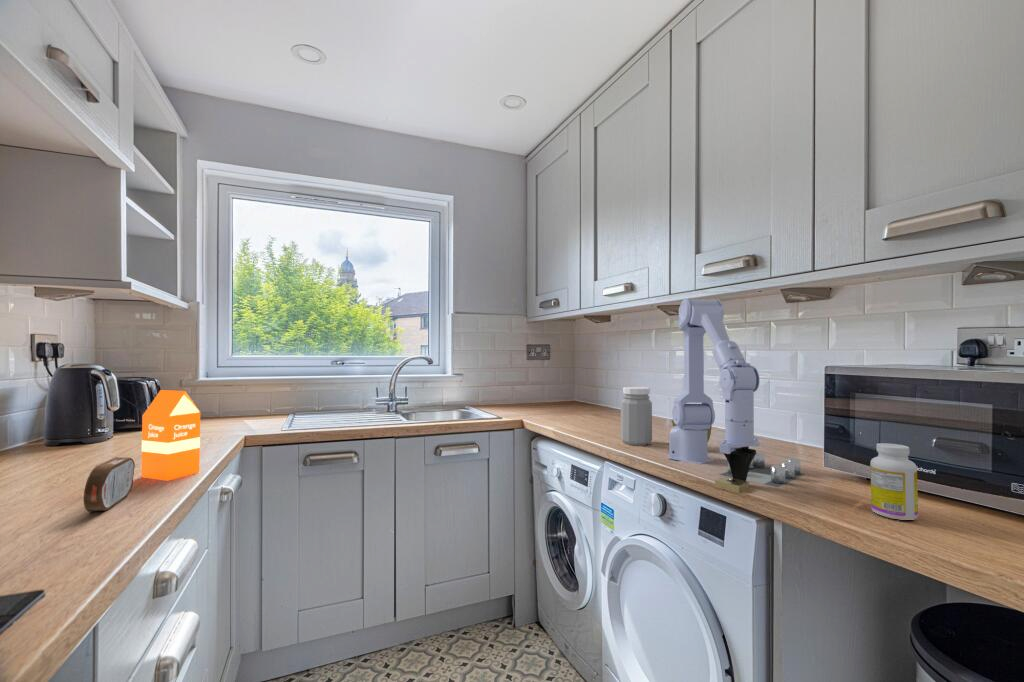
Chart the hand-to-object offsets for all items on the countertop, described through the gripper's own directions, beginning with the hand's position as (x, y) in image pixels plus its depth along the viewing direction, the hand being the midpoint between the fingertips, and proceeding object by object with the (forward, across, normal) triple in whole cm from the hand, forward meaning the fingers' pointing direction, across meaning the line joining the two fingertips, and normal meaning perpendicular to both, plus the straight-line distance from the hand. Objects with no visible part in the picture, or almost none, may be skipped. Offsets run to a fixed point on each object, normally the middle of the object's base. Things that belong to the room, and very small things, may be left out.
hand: (739, 481), depth 102 cm
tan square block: (+2, -3, 0) cm, 4 cm away
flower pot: (+1, +28, +27) cm, 39 cm away
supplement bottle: (+1, +4, -26) cm, 26 cm away
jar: (+1, +22, +43) cm, 48 cm away
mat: (+1, +13, 0) cm, 13 cm away
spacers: (+1, +14, 0) cm, 14 cm away
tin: (+1, -107, +71) cm, 128 cm away
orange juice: (+1, -96, +90) cm, 132 cm away
